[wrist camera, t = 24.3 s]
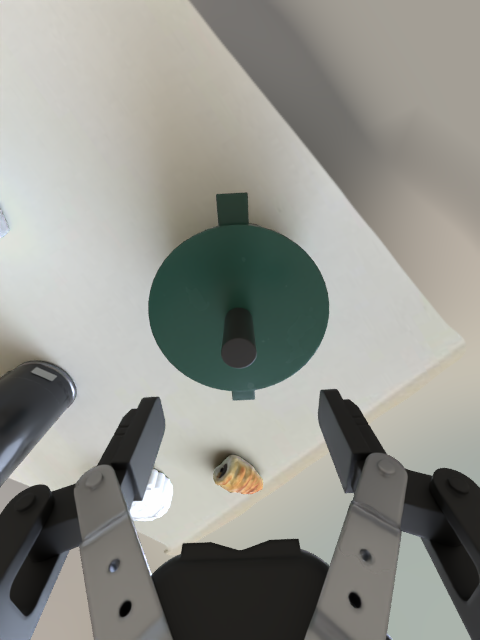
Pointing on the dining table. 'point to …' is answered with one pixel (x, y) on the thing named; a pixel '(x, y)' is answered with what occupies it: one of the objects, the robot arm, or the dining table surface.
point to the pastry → (237, 476)
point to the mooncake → (153, 498)
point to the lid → (238, 307)
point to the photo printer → (3, 225)
